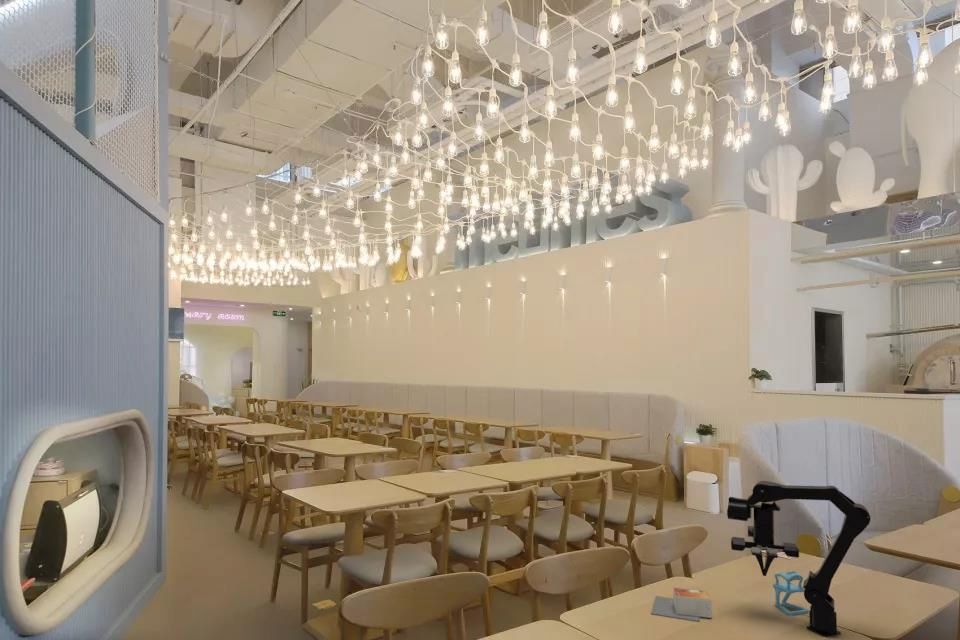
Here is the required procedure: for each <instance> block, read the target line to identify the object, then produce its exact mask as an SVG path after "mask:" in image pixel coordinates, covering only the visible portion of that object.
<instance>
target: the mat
mask: <svg viewBox="0 0 960 640" xmlns="http://www.w3.org/2000/svg"><path fill="white" fill-rule="evenodd" d="M671 601H672V602H671ZM650 615H655V616H660V617H664V618H665V617H666V618H673V619H677V620H678V619H679V620H683V621H684V620H685V621H690V622H697V623H698V622H700V618H701V617H698V616H688V615H679V614H676V611H675V607H674V605H673V597H665V596H659V595H655V598H654V602H653V605H652V608H651V613H650Z"/></svg>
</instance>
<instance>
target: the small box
mask: <svg viewBox="0 0 960 640" xmlns="http://www.w3.org/2000/svg"><path fill="white" fill-rule="evenodd" d="M672 593H673V595H672V598H673V605H674V607H675V611H676V614H679V615H688V616H698V617H700V618H709V619H711V618H712V611H713V610H712V598H711V596H710V593H709V590H701V589H692V588H691V589H690V588H681V587H673V592H672Z"/></svg>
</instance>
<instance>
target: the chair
mask: <svg viewBox="0 0 960 640" xmlns="http://www.w3.org/2000/svg"><path fill="white" fill-rule="evenodd" d="M773 574H774V578H775V583H773V584H772V587H773V588H774V592H775V602H774V603H775V606H776V607H778V609H780V610H781V611H782V612H784V613H785V614H786V615H788V616H790V615H791V616H798V615H806V614H809V609H807V608H805V607H804V608H803V607H802V606H799V605H798V606H797V605H795V604H792V603H789V602H787V601H788V599H789V598H790V596H791V595H792V594H794V593H795V594H796V593H804V588H803V586H802V584H803V583H802V582H803V580H804V577H803V576H802V575H801V574H800V573H799V572H797V571H792V570H791V571H787V572H779V573H776V572H774V573H773ZM778 577H781V578H782V579H783V580H785V582H782V583H780V581H779V578H778ZM793 581H799V582H798V584H797V585H798V586H797V585H795V584H793V583H791V582H793ZM781 593H785V595H784V597H783V598H782V599H780V598H781V597H780V595H781ZM780 600H781V603H780ZM786 607H787V608H790V609H793V610H791V611H790V610H789V609H787V608H786Z"/></svg>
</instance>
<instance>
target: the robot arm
mask: <svg viewBox="0 0 960 640" xmlns="http://www.w3.org/2000/svg"><path fill="white" fill-rule="evenodd" d="M784 500H803V501H809V500H810V501H829V502H830V503H832V504H833V505H834V506H835V507H836V508H837V509H838V510H839V511H840V512H841V513H843V514H844V517H843V521H842V524H841V529H840V531H839V532H838V534H837V536H836V538H835V540H834V542H833V543H832V545H831V548H830V549H829V551H828V552H827V554H826V556H825V558H824V560H823V562H822V563H821V566H820V567H819V569H818V570H816V572H813V571H812V570H809V572H808V575H807V578H806V579H805V580H804V581H803V583H802V584H803V586H802V588H803V589H804V592H803V596H804V599H805V600H806V602H807V603H808V604H809V605H810V606H809V609H810V610H808V615H809V625H806V629H808V630H810V631H812V632H814V633H816V634H819V635H821V636H823V637H831V636H836V635H841V634H842V631H841V630H840V631H839V630H838V629H837V627H838V622H837V612H836V611H835V599H834V598H833V597H832V596H831V594H829V591H830V587H831V585H832V584H831V583H832V580H833V578H834V576H835V575H836V573H837V571H838V569H839V568H840V565H841V563H842V561H843V560H844V558H845V556H846V555H847V553H848V552H849V549H850V547H851V546H852V544H853V542H854V540H855V539H856V538H857V537H858V536H859V535H861V534H862V532H863V531H864V530H865V529H866V528H867V527H868V526H869V525H870V523H871V516H870V512H869V509H868V508H867V507H866V506H864V505H863V504H860V503H856V502H855V501H854V500H852V499H851V498H850V497H849V496H847V495H846V494H845V493H843V492H841V490H840V489H839V488H838V487H836V486H835V485H826V486H825V485H792V484H791V485H787V484H786V485H785V484H782V483H781V484H780V483H777V482H772V481H767V480H760V481H758V482H756V484H755V485H754V486H753V488H752V493H751V495H748V497H747V498H739V497H735V496H729V497H728V505H727V510H726V515H727V519H728V520H734V521H742V522H748V521H749V520H750V519H752V515H753V525H747V537H749V538H752V541H747V540H745V537H740V536H739V537H738V536H732V537H731V538H730V547H731V550H733V551H738V552H743V551H744V550H745V549H746V548H747V549H750V552H751V555H752V556H755V558H756V560H757V562H758V564H759V568H760V570H761V571H760V572H761V574H762V577H766V576H767V575H768V571H769V568H770V566H771V564H773V563H772V562H773V561H774V560H775V558H776V559H778V558H779V554H778V553H784V554H785V556H787V557H791V558H799V557H800V549H799V547H798V545H797V544H796V543H791V542H782V545H780V544H775V514H774V513H775V511H777V512H780V511H781V506H780V505H779V504H778V503H777V502H778V501H784ZM759 503H761V504H759ZM752 513H753V514H752ZM762 550H763V551H765V559H763V554H762V553H763V552H762Z"/></svg>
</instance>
